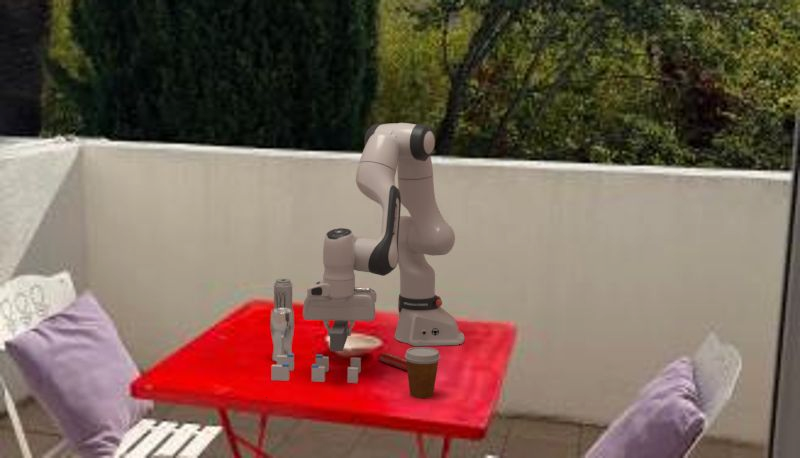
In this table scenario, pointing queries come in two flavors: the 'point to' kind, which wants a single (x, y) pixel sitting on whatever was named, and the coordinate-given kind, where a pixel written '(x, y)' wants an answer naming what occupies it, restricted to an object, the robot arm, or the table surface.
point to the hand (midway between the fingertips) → (339, 335)
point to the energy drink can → (283, 294)
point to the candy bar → (393, 360)
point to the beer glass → (282, 331)
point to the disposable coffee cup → (422, 370)
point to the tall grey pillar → (338, 336)
